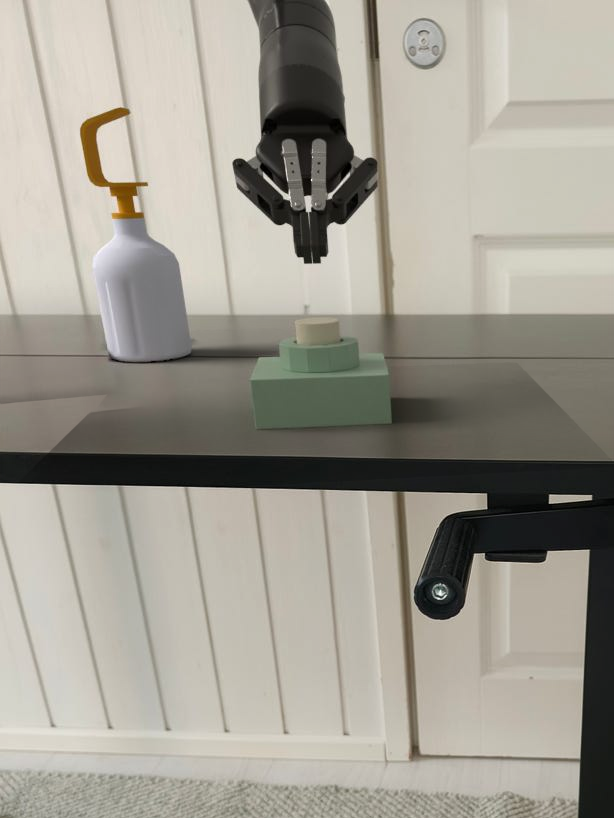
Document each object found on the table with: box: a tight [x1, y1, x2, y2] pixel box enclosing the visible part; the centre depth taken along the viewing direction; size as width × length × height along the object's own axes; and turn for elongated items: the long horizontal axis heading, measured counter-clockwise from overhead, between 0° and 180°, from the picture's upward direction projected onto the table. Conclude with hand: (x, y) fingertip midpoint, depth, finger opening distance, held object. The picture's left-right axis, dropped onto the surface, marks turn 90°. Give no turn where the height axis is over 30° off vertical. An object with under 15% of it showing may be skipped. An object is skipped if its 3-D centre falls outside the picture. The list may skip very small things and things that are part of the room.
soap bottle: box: [79, 107, 193, 363], centre depth 99 cm, size 9×9×25 cm
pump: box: [294, 317, 341, 345], centre depth 76 cm, size 4×4×2 cm
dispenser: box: [249, 334, 393, 431], centre depth 78 cm, size 11×10×6 cm
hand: (312, 256), depth 77 cm, fingers closed
